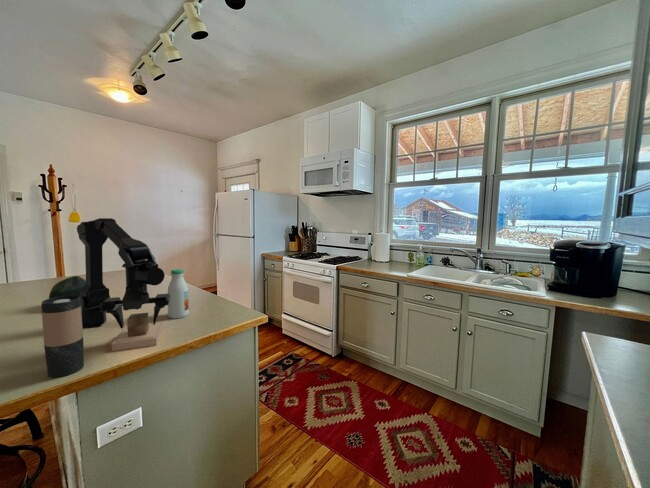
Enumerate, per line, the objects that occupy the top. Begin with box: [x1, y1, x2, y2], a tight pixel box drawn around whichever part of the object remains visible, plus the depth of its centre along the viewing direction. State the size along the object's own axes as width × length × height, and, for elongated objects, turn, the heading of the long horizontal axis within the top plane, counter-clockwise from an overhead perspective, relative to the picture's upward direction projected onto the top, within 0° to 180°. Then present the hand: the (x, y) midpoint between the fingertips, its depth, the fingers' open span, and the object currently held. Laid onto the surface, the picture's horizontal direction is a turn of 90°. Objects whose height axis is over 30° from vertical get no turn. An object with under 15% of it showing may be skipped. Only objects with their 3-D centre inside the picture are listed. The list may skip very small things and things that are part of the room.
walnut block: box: [126, 312, 150, 337], centre depth 92 cm, size 5×5×6 cm
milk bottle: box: [167, 268, 190, 319], centre depth 114 cm, size 8×8×20 cm
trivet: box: [111, 324, 163, 352], centre depth 92 cm, size 12×12×3 cm
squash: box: [48, 275, 86, 299], centre depth 122 cm, size 14×15×15 cm
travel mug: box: [41, 296, 85, 379], centre depth 73 cm, size 8×8×20 cm
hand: (138, 326), depth 92 cm, fingers open, 9 cm apart
